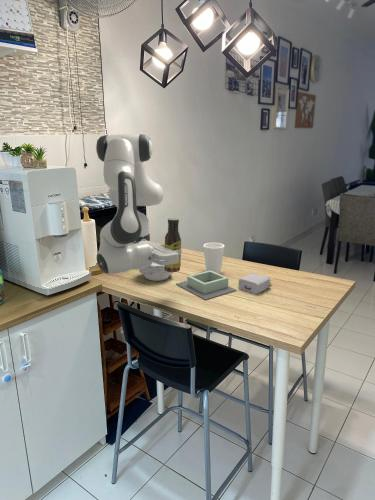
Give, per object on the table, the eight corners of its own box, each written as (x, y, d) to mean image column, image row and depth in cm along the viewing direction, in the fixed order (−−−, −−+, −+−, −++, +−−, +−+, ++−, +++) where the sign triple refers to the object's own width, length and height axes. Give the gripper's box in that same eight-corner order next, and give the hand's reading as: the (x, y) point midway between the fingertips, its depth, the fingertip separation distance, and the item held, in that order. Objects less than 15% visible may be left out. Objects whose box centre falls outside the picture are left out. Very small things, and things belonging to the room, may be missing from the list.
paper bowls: (168, 270, 179) (168, 253, 177) (178, 281, 165) (178, 263, 163) (136, 273, 175) (135, 256, 172) (143, 285, 161) (143, 267, 158)
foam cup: (198, 272, 177) (199, 244, 173) (214, 268, 182) (214, 241, 178) (212, 277, 169) (213, 249, 166) (227, 273, 175) (228, 246, 171)
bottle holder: (187, 285, 160) (187, 276, 159) (210, 279, 167) (210, 270, 166) (204, 294, 151) (204, 284, 150) (228, 287, 158) (228, 277, 157)
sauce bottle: (175, 274, 142) (175, 221, 137) (161, 271, 145) (160, 219, 140) (183, 269, 148) (184, 218, 142) (169, 266, 151) (170, 216, 145)
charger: (276, 284, 162) (257, 295, 152) (258, 279, 168) (238, 289, 158) (277, 274, 161) (258, 284, 150) (258, 269, 167) (238, 278, 156)
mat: (175, 284, 162) (175, 283, 162) (205, 276, 171) (205, 275, 171) (205, 300, 146) (205, 299, 146) (236, 290, 155) (236, 289, 155)
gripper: (157, 254, 128) (191, 247, 136) (129, 240, 144) (160, 235, 152) (158, 271, 130) (191, 264, 138) (129, 256, 146) (160, 250, 153)
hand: (174, 248), depth 145 cm, fingers closed on sauce bottle, 6 cm apart
